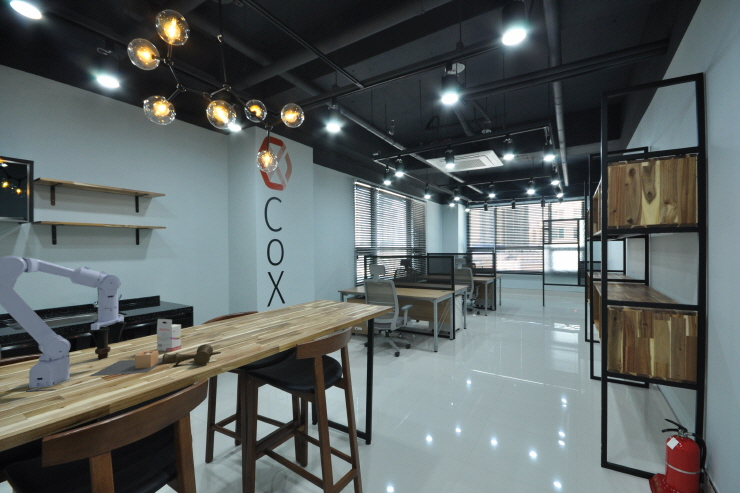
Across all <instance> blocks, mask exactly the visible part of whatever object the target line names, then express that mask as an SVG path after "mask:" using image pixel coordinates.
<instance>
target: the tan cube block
mask: <svg viewBox="0 0 740 493" xmlns="http://www.w3.org/2000/svg"><path fill="white" fill-rule="evenodd" d="M146 353H150V354H146ZM158 358H159V350H145V351H144V350H142V351H141V352H140V353H138V354H137V353H136V355H134V360H135V368H148V367H152V366H154V365H155V364H157V363H158Z"/></svg>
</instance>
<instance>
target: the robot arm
mask: <svg viewBox="0 0 740 493" xmlns="http://www.w3.org/2000/svg"><path fill="white" fill-rule="evenodd" d="M36 272H37V273H38V272H41V273H45V274H46V273H47V274H50V275H55V276H59V277H63V278H68V279H70V281H71V282H72V283H73V284H75V285H80V286H84V287H89V288H93V289H94V288H95V289H96V288H97V289H98V296H97V301H98V302H97V305H98V306H97V310H98V311H97V314H98V315H97V319H98V321H96V322H94V323H91V324H90V329H88V333H89V334H90V335H91V336H92V339H93V340H94V343H95V345H96V349H104V348H105V346H106V339H107V335H108V336H110V341H111V343H112V344H117V343H120V339H121V335H122V333H123V330H124V329H125V327H126V325H127V322H126V321H125V320H124V319H125V317H124V315H121V316H119V289H120V286H121V285H122V282H121V280H120V278H119V277H118V276H116V275H113V274H108V273H107V272H106V271H97V270H94V269H91V267H89V266H84V267H82V266H80V267H77V268H69V267H66V266H62V265H60V264H57V263H54V262H53V263H52V262H50V261H46V260H42V259H37V258H31V257H20V256H18V255H14V254H13V255H4V256H1V257H0V306H1V307H2V308H3V309H4V310H5V311H6V312H7V313H8V314H9V315H10V316H11V317H12V318H13V319H14V320H15V322H17V324H19V325H20V326H21V327H22V329H24V330H25V331H26V332H27V333H28V334H29V336H31V338H33V339H34V340H35V342H37V344H38V350H39V351H40V352H41V353H42V354H41V355H40V356H39V357H38V361H37V363H36V364H35V363H34V365H32V366H31V367H30V368H29V369H30V370H29V371H28V372H29V373H28V374H29V375H28V376H29V377H28V378H29V379H28V382H29V383H28V387H29V388H31V389H33V388H34V389H35V388H44V387H45V388H46V387H49V388H50V387H52V386H54V385H56V384H58V383H62V382H65V381H67V380H69V379H70V367H71V366H70V359H71V358H70V355H71V354H70V352H69V351H70V349H71V342H70V341H69V340H67V339H66V338H64V337H63V336H62V335H60V334H57V333H56V332H55V331H54V330H53V329H52V328H50V326H49V325H48V324H47V323H46V322H45V321H44V320H43V319H42V318H41V317H40V316H39V315H38V314H37V313H36V312H35V310H34V309H33V308H32V307H31V306H30V305H28V303H27V302H26V301H25V300H24V299H23V298H22V297H21V296H20V295H19V294H18V293H17V292H16V290H15V289H14V287H15V285H16V283H17V280H18V279H19V277H20V276H22V274H23V273H26V274H27V273H29V274H30V273H36ZM106 326H108V329H105V328H104V327H106ZM55 390H56V388H50V389H35V390H26V391H25V392H26V393H31V392H43V391H44V392H46V391H55Z"/></svg>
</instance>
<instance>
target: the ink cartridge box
mask: <svg viewBox="0 0 740 493" xmlns="http://www.w3.org/2000/svg"><path fill="white" fill-rule="evenodd" d="M164 322H165V323H164ZM181 349H182V324H175V323H174V324H173V319H168V318H167V319H166V318H158V319H157V325H156V351H162V352H163V351H164V352H175V351H178V350H181Z"/></svg>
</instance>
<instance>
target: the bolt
mask: <svg viewBox="0 0 740 493" xmlns="http://www.w3.org/2000/svg"><path fill="white" fill-rule="evenodd" d="M104 328H105V329H109V328H108V326H106V327H104ZM111 350H112V348H111V346H109V334H108V335H107V339H106V346H105V348H104V349H97V348H95V349H94V354H95V355H97V359H98V360H105V359H107V358H109V353H110V352H111Z"/></svg>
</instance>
